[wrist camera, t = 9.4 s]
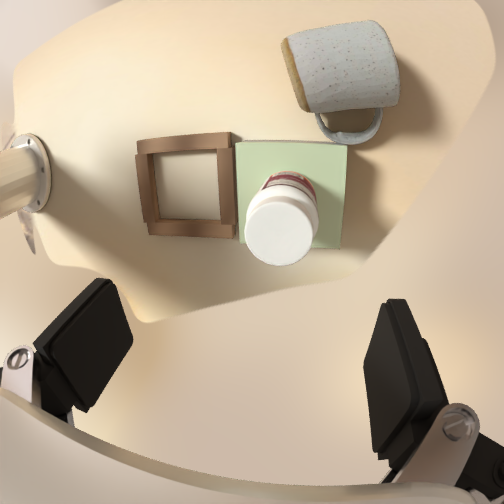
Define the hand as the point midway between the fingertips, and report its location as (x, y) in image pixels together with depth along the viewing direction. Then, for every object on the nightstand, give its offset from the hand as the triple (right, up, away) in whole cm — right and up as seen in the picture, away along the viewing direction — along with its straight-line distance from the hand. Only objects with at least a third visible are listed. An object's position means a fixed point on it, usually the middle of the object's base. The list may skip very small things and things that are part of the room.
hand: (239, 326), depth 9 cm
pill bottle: (+4, +7, +15) cm, 17 cm away
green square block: (+4, +9, +18) cm, 20 cm away
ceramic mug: (+9, +18, +13) cm, 23 cm away
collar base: (-6, +10, +20) cm, 23 cm away
